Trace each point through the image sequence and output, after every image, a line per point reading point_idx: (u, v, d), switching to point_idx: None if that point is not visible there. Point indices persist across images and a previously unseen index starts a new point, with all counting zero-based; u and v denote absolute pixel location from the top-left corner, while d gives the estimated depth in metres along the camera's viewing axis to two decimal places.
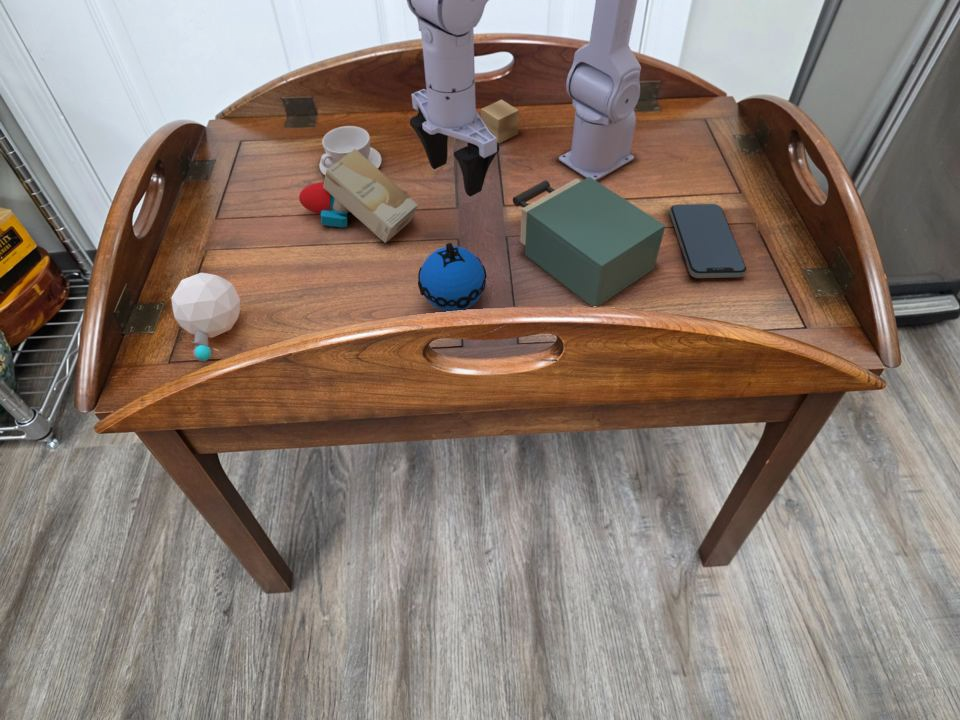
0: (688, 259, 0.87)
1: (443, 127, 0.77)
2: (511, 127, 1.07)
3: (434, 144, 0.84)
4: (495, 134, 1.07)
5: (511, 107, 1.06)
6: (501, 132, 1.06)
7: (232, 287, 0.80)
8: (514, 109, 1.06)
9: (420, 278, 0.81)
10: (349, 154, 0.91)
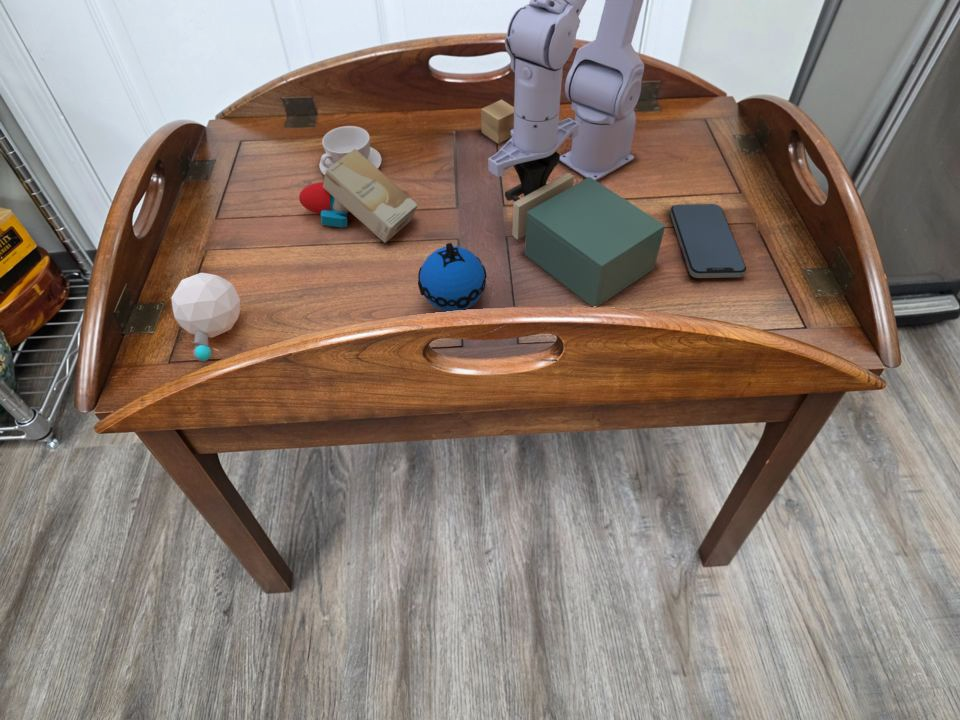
0: (688, 259, 0.87)
1: None
2: (511, 127, 1.07)
3: None
4: (495, 134, 1.07)
5: (511, 107, 1.06)
6: (501, 132, 1.06)
7: (232, 287, 0.80)
8: None
9: (420, 278, 0.81)
10: (349, 154, 0.91)
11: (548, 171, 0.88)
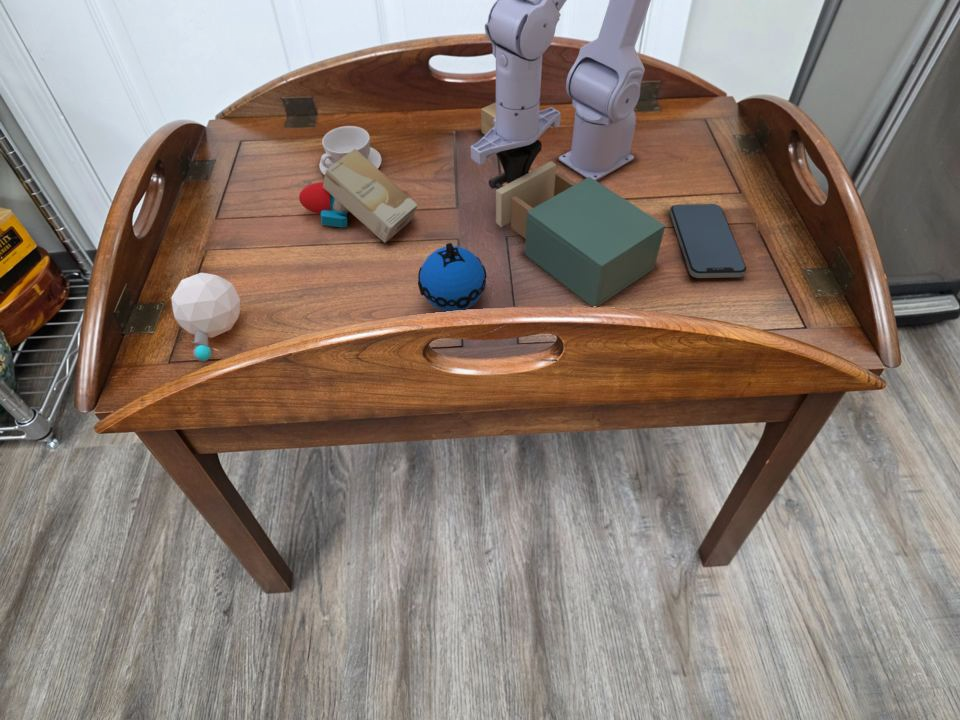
0: (688, 259, 0.87)
1: None
2: None
3: None
4: None
5: None
6: None
7: (232, 287, 0.80)
8: None
9: (420, 278, 0.81)
10: (349, 154, 0.91)
11: (530, 159, 0.89)
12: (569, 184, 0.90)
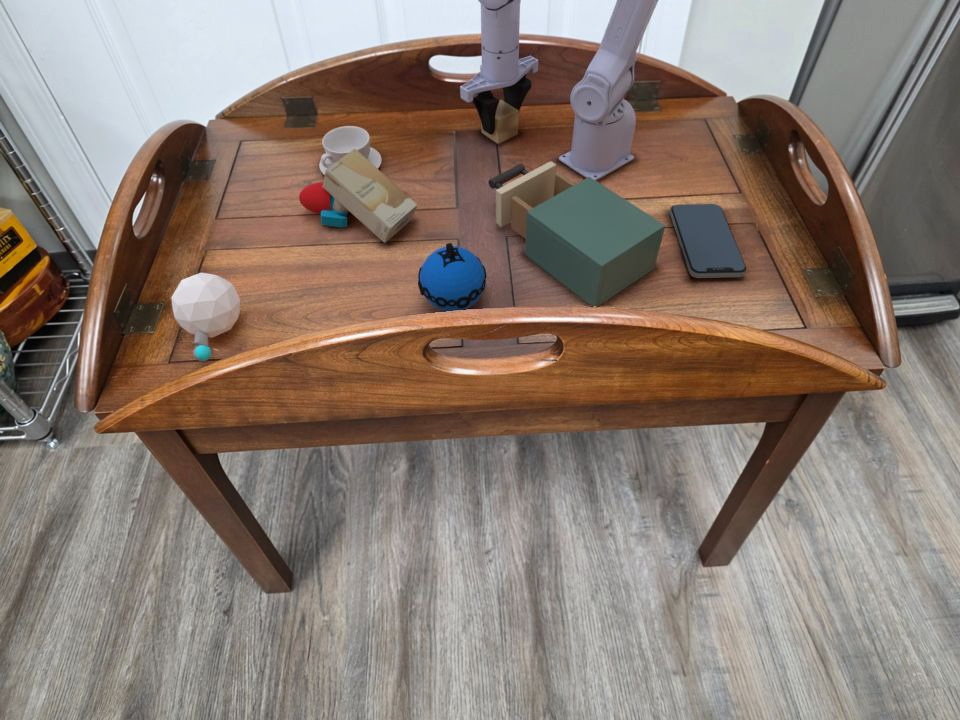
0: (688, 259, 0.87)
1: None
2: (511, 128, 1.07)
3: (508, 100, 1.07)
4: (495, 134, 1.07)
5: (511, 107, 1.06)
6: (500, 132, 1.06)
7: (232, 287, 0.80)
8: (514, 109, 1.06)
9: (420, 278, 0.81)
10: (349, 154, 0.91)
11: (521, 96, 1.05)
12: (569, 184, 0.90)
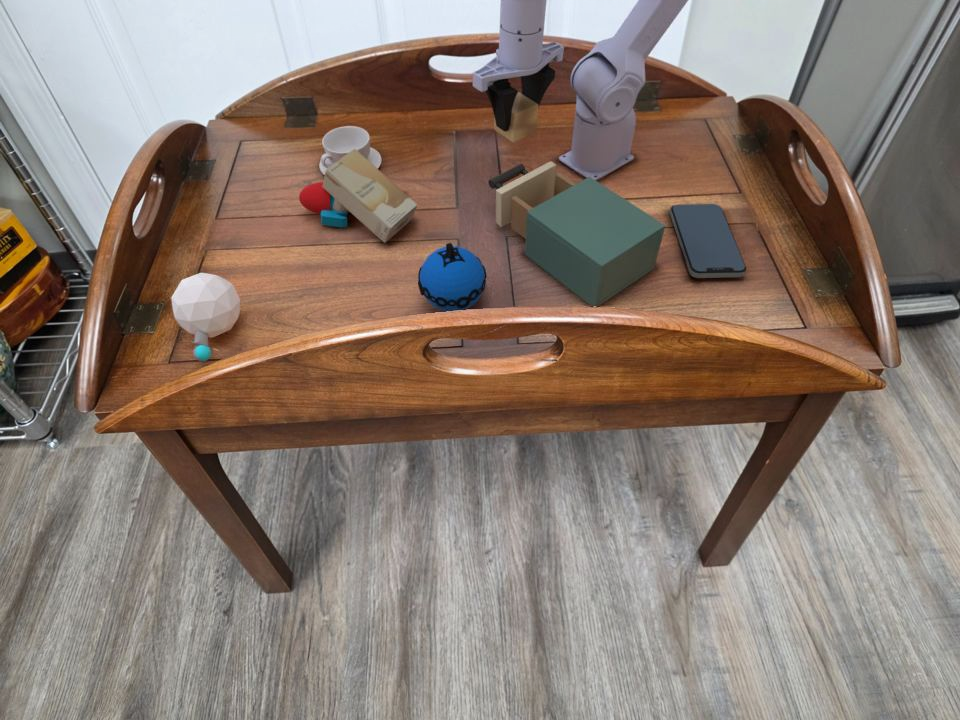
0: (688, 259, 0.87)
1: (499, 54, 0.87)
2: (529, 124, 0.92)
3: (527, 92, 0.92)
4: (510, 131, 0.92)
5: (529, 100, 0.91)
6: (517, 128, 0.91)
7: (232, 287, 0.80)
8: (533, 103, 0.91)
9: (420, 278, 0.81)
10: (349, 154, 0.91)
11: (543, 88, 0.90)
12: (569, 184, 0.90)
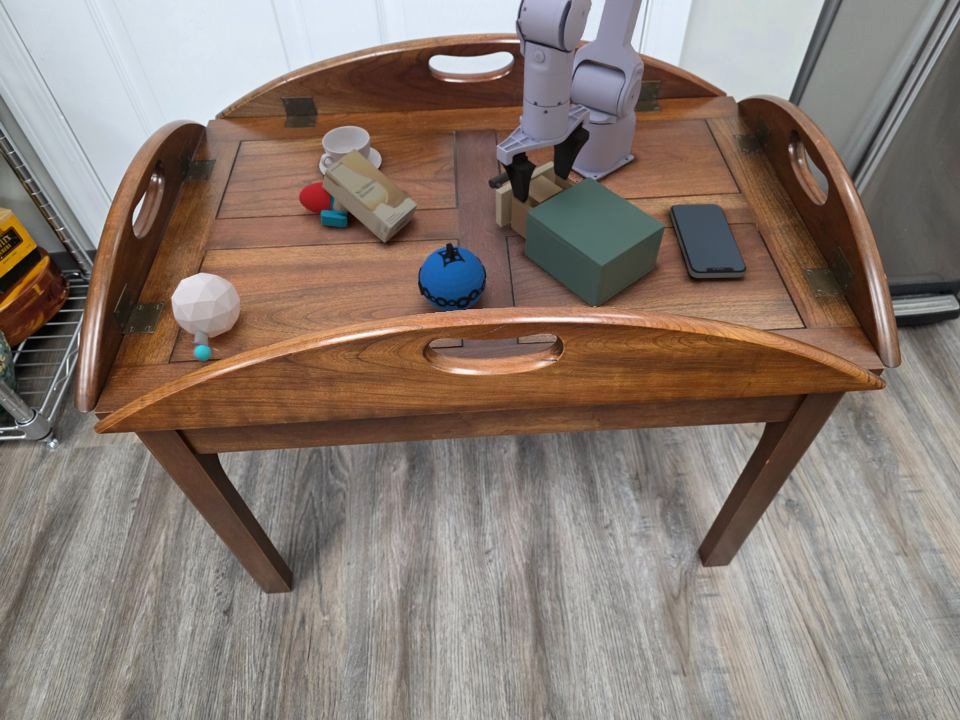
0: (688, 259, 0.87)
1: (523, 123, 0.83)
2: None
3: (559, 153, 0.88)
4: None
5: (554, 185, 0.90)
6: None
7: (232, 287, 0.80)
8: (557, 188, 0.90)
9: (420, 278, 0.81)
10: (348, 154, 0.91)
11: (577, 149, 0.86)
12: (569, 184, 0.90)
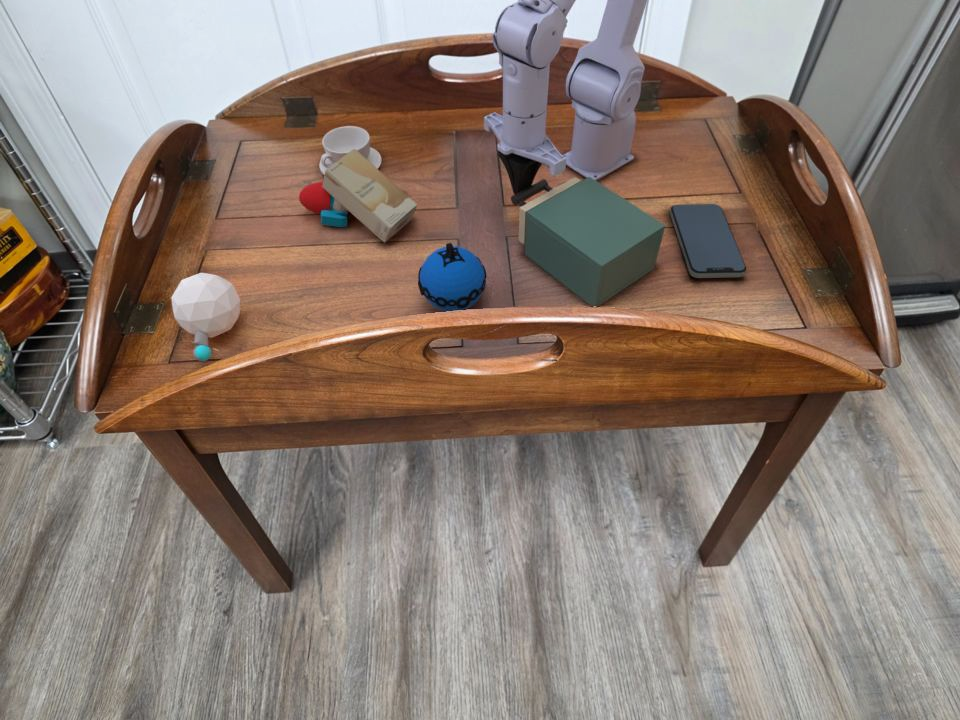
0: (688, 259, 0.87)
1: (517, 148, 0.85)
2: None
3: None
4: None
5: None
6: None
7: (232, 287, 0.80)
8: None
9: (420, 278, 0.81)
10: (348, 154, 0.91)
11: None
12: None
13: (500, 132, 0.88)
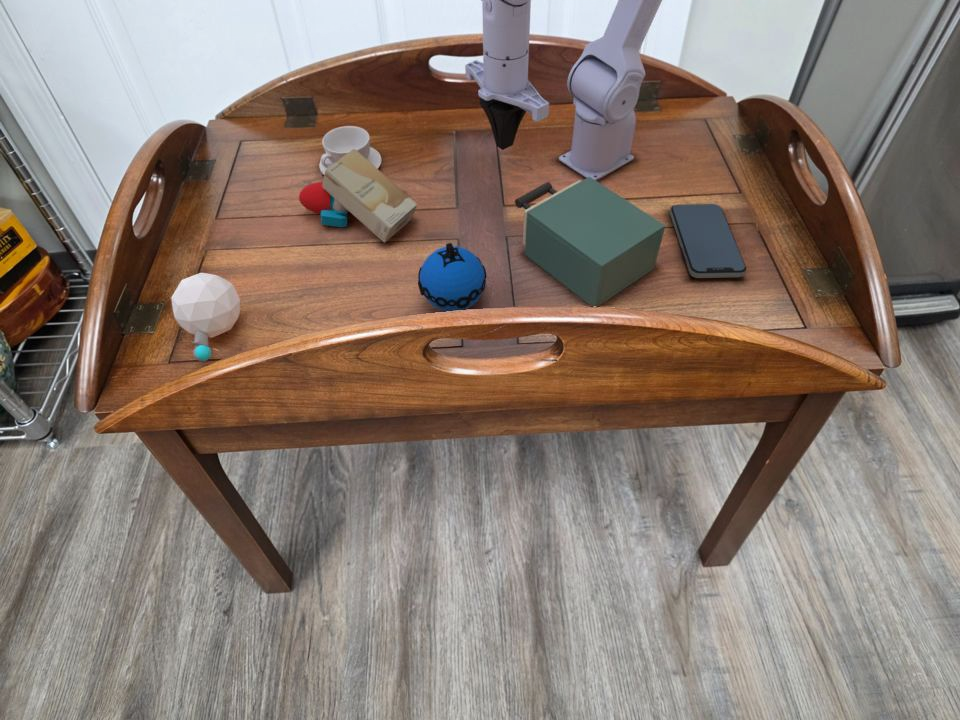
0: (688, 259, 0.87)
1: (498, 93, 0.82)
2: None
3: None
4: None
5: None
6: None
7: (232, 287, 0.80)
8: None
9: (420, 278, 0.81)
10: (348, 154, 0.91)
11: None
12: None
13: (481, 79, 0.86)
